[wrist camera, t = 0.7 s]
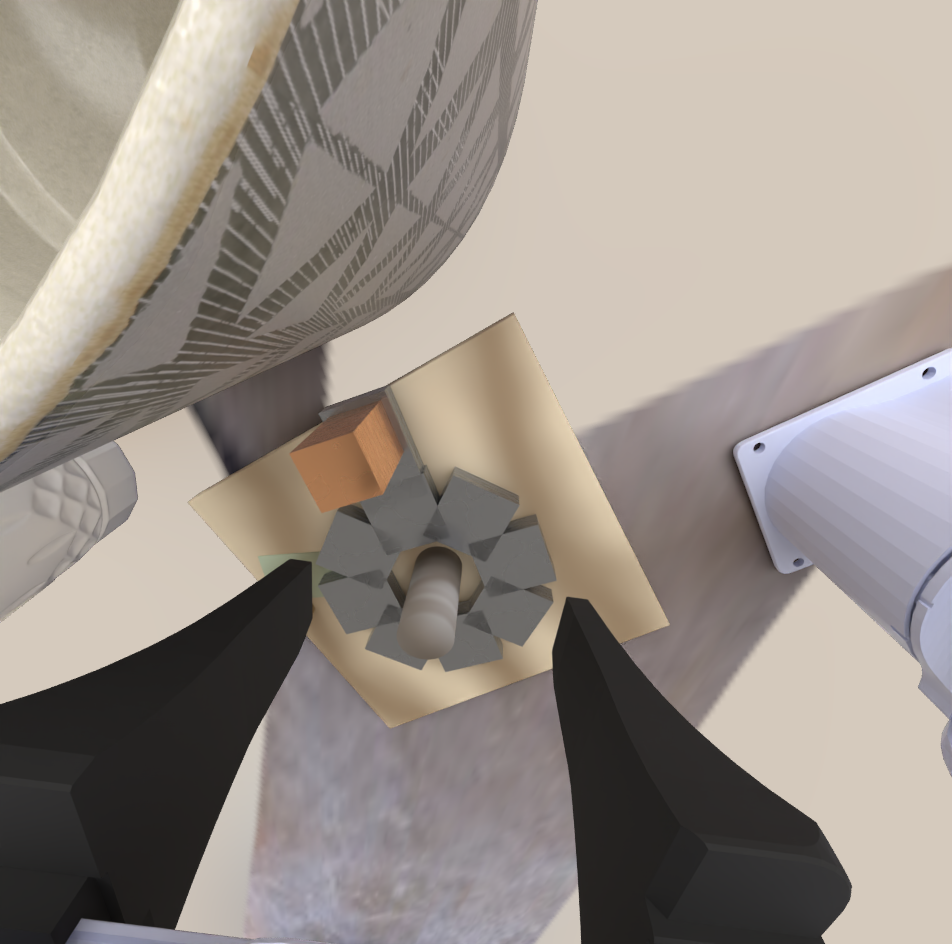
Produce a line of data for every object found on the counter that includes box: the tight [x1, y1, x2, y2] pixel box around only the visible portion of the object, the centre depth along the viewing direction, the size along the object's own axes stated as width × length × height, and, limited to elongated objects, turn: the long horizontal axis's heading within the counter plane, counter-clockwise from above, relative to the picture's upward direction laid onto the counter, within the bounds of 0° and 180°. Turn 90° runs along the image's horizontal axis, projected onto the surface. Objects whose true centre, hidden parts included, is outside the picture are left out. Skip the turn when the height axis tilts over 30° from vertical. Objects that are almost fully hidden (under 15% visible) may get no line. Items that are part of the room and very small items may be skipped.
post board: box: [188, 313, 670, 728], centre depth 22 cm, size 18×18×6 cm
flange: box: [289, 385, 557, 672], centre depth 20 cm, size 15×11×5 cm
